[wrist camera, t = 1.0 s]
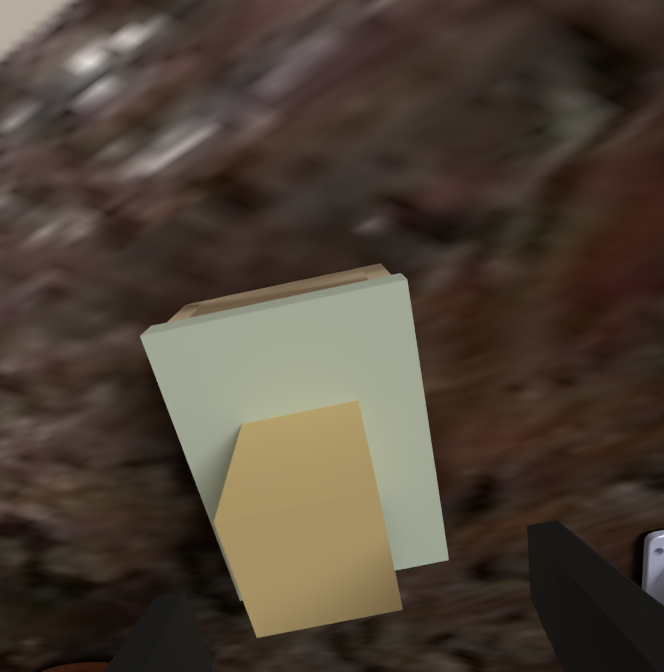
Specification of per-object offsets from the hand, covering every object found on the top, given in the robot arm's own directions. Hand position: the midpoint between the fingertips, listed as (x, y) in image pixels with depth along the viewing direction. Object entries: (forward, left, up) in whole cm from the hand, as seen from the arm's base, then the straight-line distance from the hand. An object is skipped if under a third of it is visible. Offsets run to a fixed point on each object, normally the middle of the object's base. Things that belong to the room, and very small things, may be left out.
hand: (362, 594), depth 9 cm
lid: (-1, +1, -7) cm, 7 cm away
